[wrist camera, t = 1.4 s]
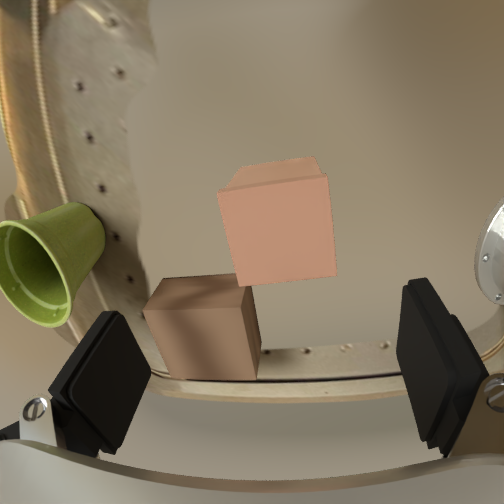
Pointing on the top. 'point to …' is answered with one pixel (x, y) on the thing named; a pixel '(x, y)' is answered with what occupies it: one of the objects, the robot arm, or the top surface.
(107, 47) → the top surface
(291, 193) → the peach lipped block
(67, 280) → the plant pot
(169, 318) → the walnut box
